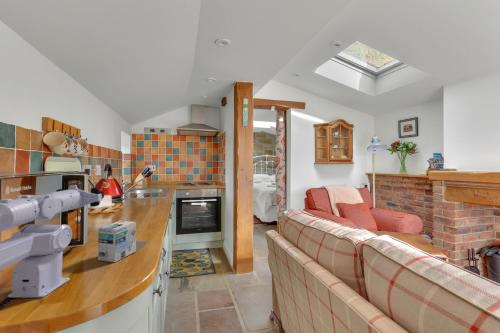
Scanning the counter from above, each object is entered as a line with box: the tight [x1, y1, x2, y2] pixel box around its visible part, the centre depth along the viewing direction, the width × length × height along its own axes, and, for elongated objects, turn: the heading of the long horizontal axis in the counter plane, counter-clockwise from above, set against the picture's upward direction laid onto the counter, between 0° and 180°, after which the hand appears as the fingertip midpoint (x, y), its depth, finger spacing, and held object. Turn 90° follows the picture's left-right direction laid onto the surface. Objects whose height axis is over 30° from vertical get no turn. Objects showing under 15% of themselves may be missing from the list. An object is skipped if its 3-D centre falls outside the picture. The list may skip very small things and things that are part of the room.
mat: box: [134, 241, 147, 253], centre depth 95 cm, size 12×9×1 cm
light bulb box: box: [97, 219, 137, 263], centre depth 85 cm, size 11×7×11 cm, turn 168°
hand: (90, 194), depth 82 cm, fingers open, 7 cm apart
